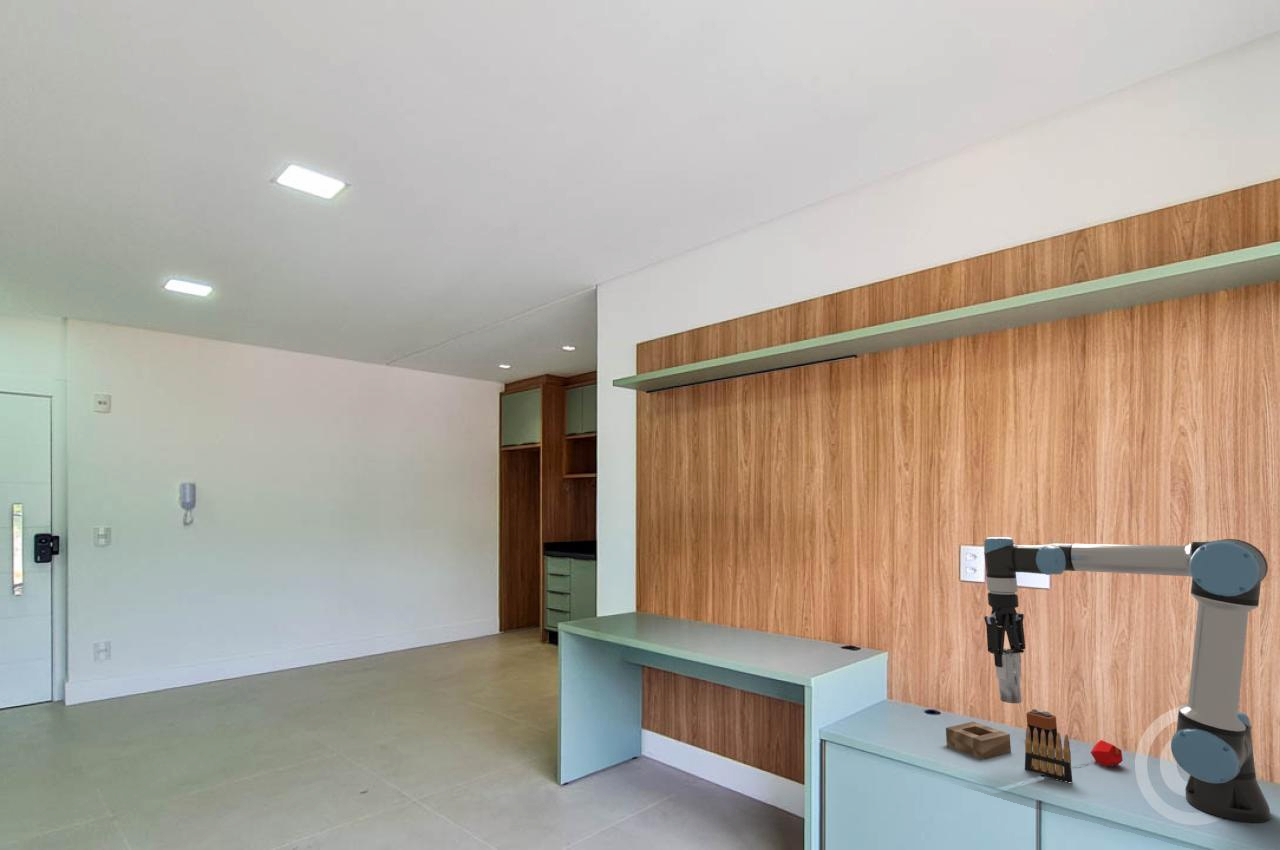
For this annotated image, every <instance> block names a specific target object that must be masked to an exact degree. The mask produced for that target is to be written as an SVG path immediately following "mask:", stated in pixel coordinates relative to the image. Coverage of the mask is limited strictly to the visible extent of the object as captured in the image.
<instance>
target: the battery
mask: <svg viewBox="0 0 1280 850" xmlns="http://www.w3.org/2000/svg"><path fill="white" fill-rule="evenodd" d="M1025 714H1026V727H1027V726H1029V728H1030V732H1031V741H1032V743H1033V732H1034V729H1035V727H1036V729H1037V732H1038V739H1039V745H1040V742H1041V731H1042V729H1044V732H1045V736H1046V745H1047V747H1048V736H1049V732H1050V731H1051V732H1052V735H1053V742H1054V748H1056V737H1057V733H1058V728H1057V727H1058V726H1057V716H1056V715H1055V714H1054V715H1053V714H1052V713H1051V712H1049V711H1046V710H1045V711H1038V709H1035V708H1032V709H1031V711H1028V712H1026V713H1025Z"/></svg>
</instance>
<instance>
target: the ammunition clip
mask: <svg viewBox="0 0 1280 850" xmlns="http://www.w3.org/2000/svg"><path fill="white" fill-rule="evenodd" d="M1025 729H1026V730H1025V740H1024V748H1025V749H1024V751H1025V752H1024V753H1025V754H1024V755H1025V757H1024V770H1025V771H1030V772H1032V773H1033V772H1034V773H1037V774H1041V775H1040V776H1041V777H1044V778H1049V779H1053V780H1056V779H1058V780H1057V781H1060V780H1062V781H1061V782H1064V781H1067V782H1066V783H1068V782H1072V783H1073V774H1072V773H1073V772H1072V755H1071V748H1070V747H1071V746H1070V739H1069V735H1068V734H1067V733H1066V734H1065V736H1064V740H1063V744H1062V738H1061V734H1060V732H1057V737H1056V748H1054V742H1053V735H1052V732H1051V731H1050V732H1049V736H1048V746H1047V745H1046V736H1045V732H1044V729H1042V731H1041V742H1040V744H1039V739H1038V732H1037V729H1036V727H1035V729H1034V732H1033V742H1032V741H1031V732H1030V728H1029V726H1027V725H1026V728H1025ZM1062 745H1063V746H1062ZM1062 747H1063V748H1062Z"/></svg>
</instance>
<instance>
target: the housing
mask: <svg viewBox="0 0 1280 850" xmlns="http://www.w3.org/2000/svg"><path fill="white" fill-rule="evenodd" d="M945 737H946V739H945V740H946V746H947V747H950V748H952V749H954V750H957V751H960V752H962V753H965V754H967V755H970V756H972V757H975V758H978V759H980V760H986V759H990V758H991V759H992V758H993V757H994V758H995V757H998V756H1002V755H1005V754H1009V753H1012V748H1011V746H1012V745H1011V735H1010V733H1007V732H1005V731H1001V730H999V729H996V728H993V727H991V726H988V725H984V724H981V723H979V722H976V721H970V722H966V723H961V724H957V725H952V726H946V727H945Z"/></svg>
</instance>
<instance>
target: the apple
mask: <svg viewBox="0 0 1280 850" xmlns="http://www.w3.org/2000/svg"><path fill="white" fill-rule="evenodd" d="M1090 754H1091V755H1092V757H1093V759H1094V760H1095V763H1097V762H1098V763H1097V764H1099V763H1100V764H1099V765H1101V764H1102V765H1103V767H1104V766H1107V767H1113V766H1112V765H1115V766H1118V765H1119V764H1120V763H1122V762H1124V760H1123V753H1122V749H1120V748H1118V747H1117V746H1115V745H1114V744H1112V743H1110V742H1107V741H1105V740H1102V739H1101V740H1099V741H1097V742H1096V744H1095V745H1094V746H1093V748H1092V749H1091V751H1090ZM1102 765H1101V766H1102Z"/></svg>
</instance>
